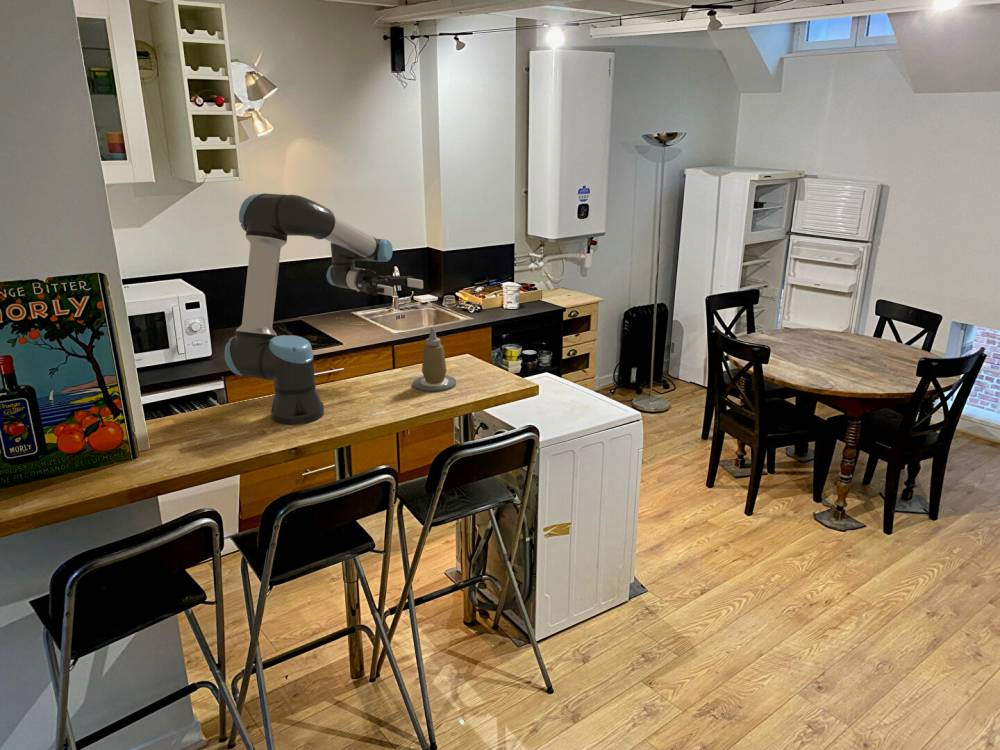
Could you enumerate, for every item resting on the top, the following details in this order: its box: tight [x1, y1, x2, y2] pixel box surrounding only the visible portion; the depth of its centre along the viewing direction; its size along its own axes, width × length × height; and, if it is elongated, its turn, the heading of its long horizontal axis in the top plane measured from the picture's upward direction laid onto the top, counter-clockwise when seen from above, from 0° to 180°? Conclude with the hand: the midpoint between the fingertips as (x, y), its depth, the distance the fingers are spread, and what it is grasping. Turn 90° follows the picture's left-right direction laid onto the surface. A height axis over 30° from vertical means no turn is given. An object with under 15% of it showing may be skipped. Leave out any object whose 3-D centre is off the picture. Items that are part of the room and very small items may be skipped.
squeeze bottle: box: [421, 327, 448, 384], centre depth 245 cm, size 8×8×18 cm
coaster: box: [412, 375, 457, 393], centre depth 248 cm, size 14×14×1 cm
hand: (407, 287), depth 244 cm, fingers open, 13 cm apart
